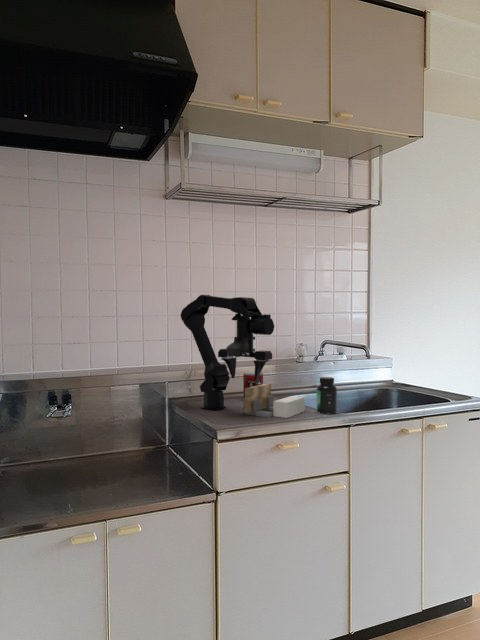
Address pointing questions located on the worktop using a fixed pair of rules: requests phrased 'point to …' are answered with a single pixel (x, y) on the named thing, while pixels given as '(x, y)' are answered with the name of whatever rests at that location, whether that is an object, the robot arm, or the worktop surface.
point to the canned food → (251, 380)
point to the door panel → (257, 396)
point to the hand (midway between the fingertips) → (244, 379)
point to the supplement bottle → (326, 396)
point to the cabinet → (278, 407)
